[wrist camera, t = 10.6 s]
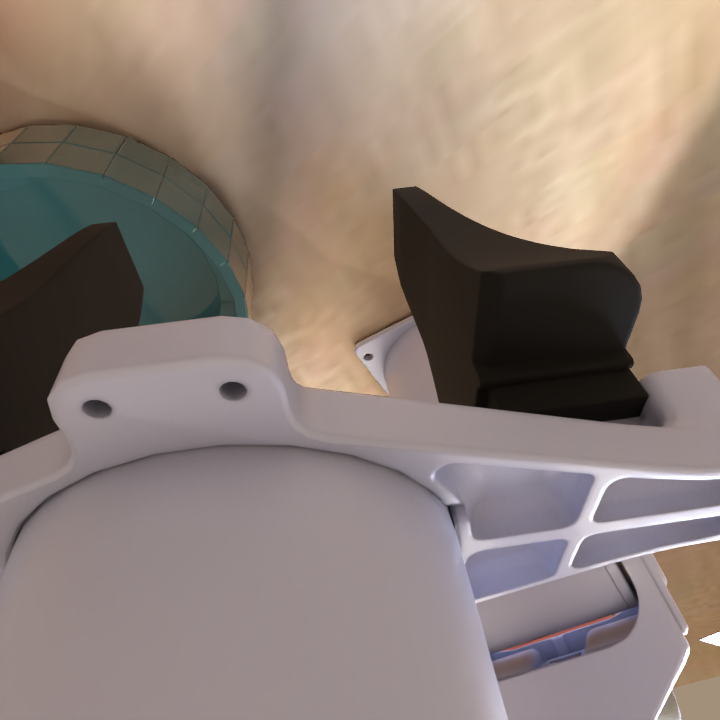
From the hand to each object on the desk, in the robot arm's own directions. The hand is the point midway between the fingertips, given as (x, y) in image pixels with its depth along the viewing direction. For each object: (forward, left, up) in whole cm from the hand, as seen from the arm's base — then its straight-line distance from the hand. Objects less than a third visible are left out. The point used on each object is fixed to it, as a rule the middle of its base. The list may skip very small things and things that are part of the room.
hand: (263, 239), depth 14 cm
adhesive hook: (-92, -17, -10) cm, 94 cm away
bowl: (-2, +10, -9) cm, 14 cm away
